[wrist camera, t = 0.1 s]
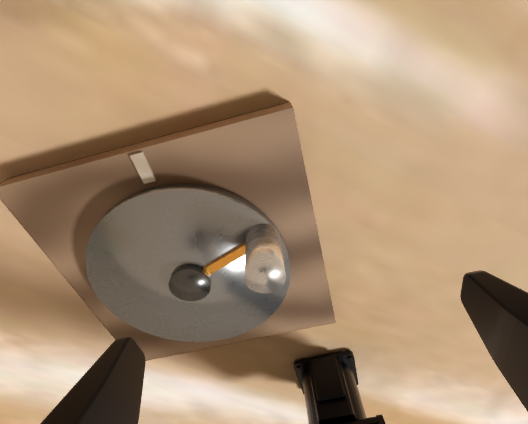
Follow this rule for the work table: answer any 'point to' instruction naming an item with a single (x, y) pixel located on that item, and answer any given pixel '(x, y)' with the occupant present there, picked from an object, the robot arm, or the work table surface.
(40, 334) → the work table surface
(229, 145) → the base plate
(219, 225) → the capstan dial
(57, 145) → the work table surface
